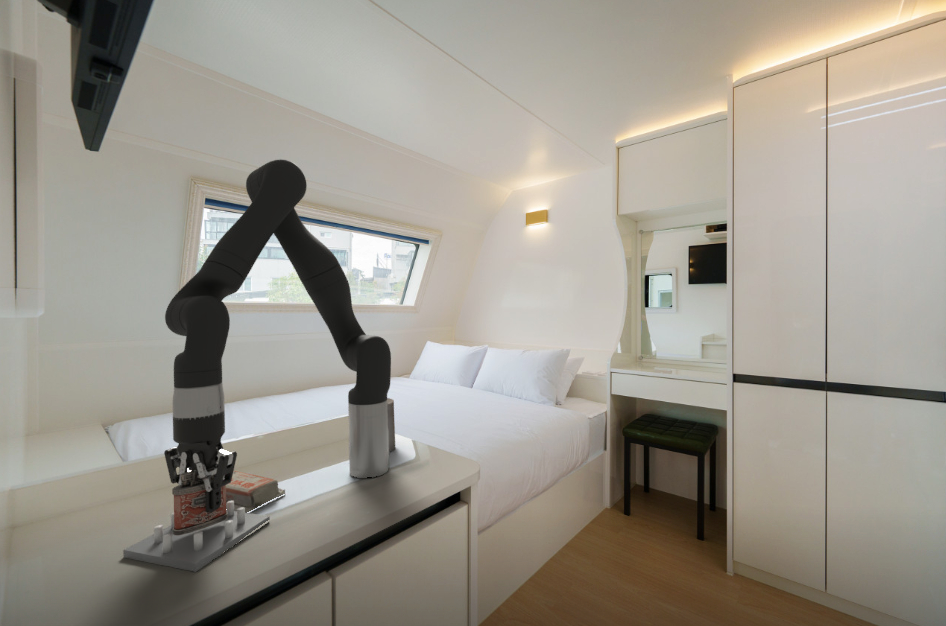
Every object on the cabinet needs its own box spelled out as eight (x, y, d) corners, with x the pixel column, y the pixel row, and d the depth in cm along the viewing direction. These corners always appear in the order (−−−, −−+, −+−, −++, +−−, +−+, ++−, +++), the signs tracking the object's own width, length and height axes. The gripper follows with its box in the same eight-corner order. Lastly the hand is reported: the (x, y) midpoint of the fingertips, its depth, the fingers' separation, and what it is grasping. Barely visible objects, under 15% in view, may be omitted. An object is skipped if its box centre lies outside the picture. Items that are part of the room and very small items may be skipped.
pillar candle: (374, 442, 124) (372, 392, 123) (402, 445, 120) (400, 394, 120) (352, 453, 115) (351, 399, 114) (382, 457, 111) (380, 401, 111)
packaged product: (287, 474, 89) (244, 493, 80) (287, 496, 89) (245, 518, 80) (231, 462, 96) (186, 479, 87) (231, 483, 96) (187, 502, 87)
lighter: (175, 538, 68) (174, 477, 68) (170, 530, 70) (169, 472, 70) (230, 519, 74) (229, 463, 74) (224, 513, 76) (223, 459, 76)
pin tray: (206, 513, 81) (206, 494, 81) (269, 522, 77) (269, 502, 77) (123, 557, 67) (123, 534, 67) (195, 571, 63) (195, 547, 63)
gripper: (249, 407, 73) (251, 503, 74) (187, 404, 77) (189, 495, 77) (212, 418, 66) (214, 525, 66) (146, 414, 70) (148, 514, 70)
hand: (201, 508), depth 72 cm, fingers closed on lighter, 4 cm apart
